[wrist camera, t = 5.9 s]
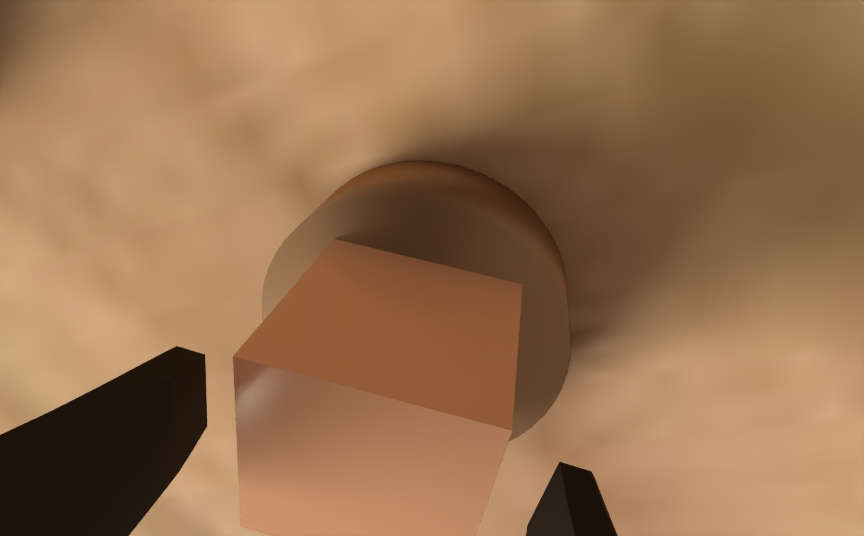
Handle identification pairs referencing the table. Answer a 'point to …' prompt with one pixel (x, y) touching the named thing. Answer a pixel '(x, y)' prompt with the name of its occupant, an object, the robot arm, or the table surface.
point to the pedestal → (450, 255)
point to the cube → (376, 398)
